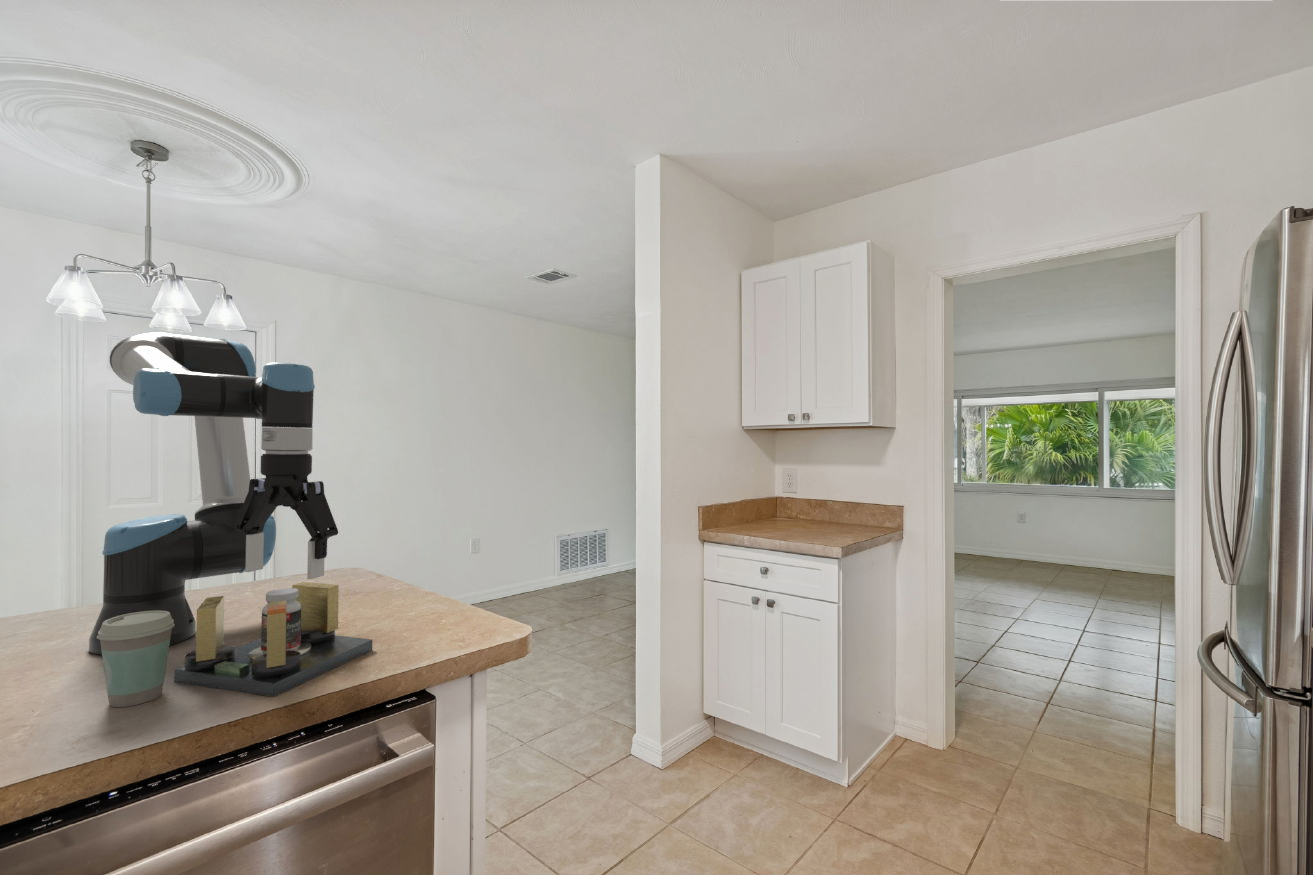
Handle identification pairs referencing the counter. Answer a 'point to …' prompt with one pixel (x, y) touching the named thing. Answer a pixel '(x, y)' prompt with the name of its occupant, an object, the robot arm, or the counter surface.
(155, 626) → the coffee cup
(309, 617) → the foot screw
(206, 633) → the foot screw
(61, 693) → the counter surface
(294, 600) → the pill bottle
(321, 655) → the plate
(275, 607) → the tan bar on disc
